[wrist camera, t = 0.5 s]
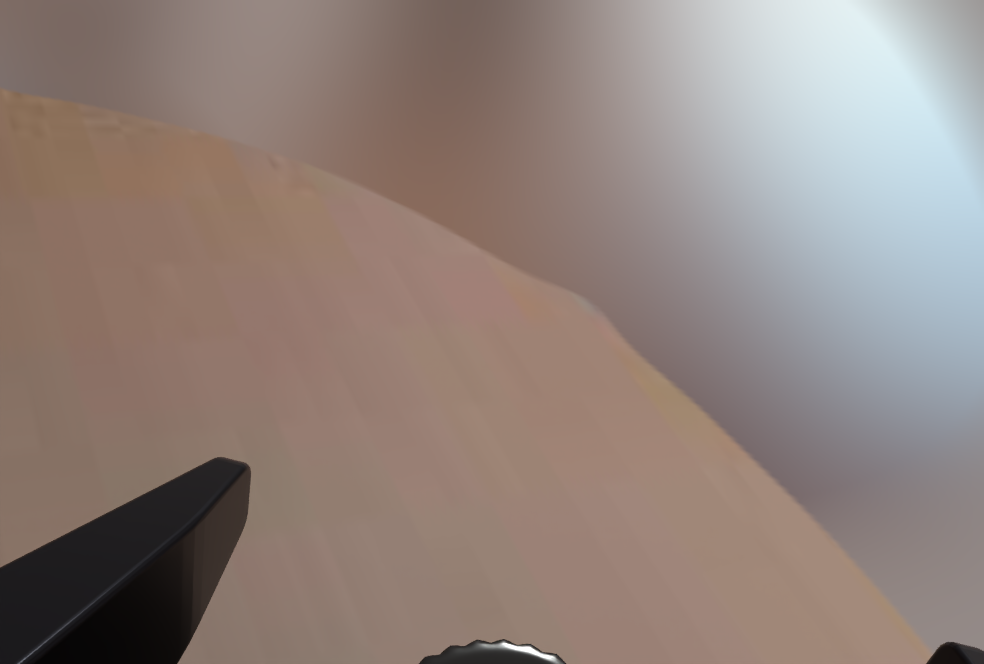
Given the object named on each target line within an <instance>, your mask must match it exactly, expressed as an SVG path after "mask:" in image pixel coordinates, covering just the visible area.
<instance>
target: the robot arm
mask: <svg viewBox="0 0 984 664" xmlns="http://www.w3.org/2000/svg"><path fill="white" fill-rule="evenodd" d="M250 481H251V470H250V467H249V465H248V464H246V463H244V462H240V461H236V460H232V459H228V458H224V457H217V458H214V459H212V460H210V461H208V462H206V463H204V464H202V465H200V466H198V467H196V468H194V469H192V470H190V471H188V472H186V473H184V474H182V475H180V476H178V477H177V478H175V479H173V480H171V481H169V482H167V483H165V484H163V485H161V486H159V487H157V488H155V489H153V490H151V491H149V492H147V493H145V494H143V495H141V496H139V497H137V498H135V499H133V500H132V501H130V502H128V503H126V504H124V505H122V506H120V507H118V508H116V509H114V510H112V511H110V512H108V513H106V514H104V515H102V516H100V517H98V518H96V519H94V520H92V521H90V522H88V523H87V524H85V525H83V526H81V527H79V528H77V529H75V530H73V531H71V532H69V533H67V534H65V535H63V536H61V537H59V538H57V539H55V540H53V541H51V542H49V543H47V544H45V545H43V546H41V547H40V548H38V549H36V550H34V551H32V552H30V553H28V554H26V555H24V556H22V557H20V558H18V559H16V560H14V561H12V562H10V563H8V564H6V565H4V566H2V567H0V664H177V663H178V662H179V660H180V658H181V657H182V655H183V653H184V651H185V650H186V648H187V646H188V644H189V643H190V641H191V639H192V637H193V635H194V633H195V631H196V629H197V627H198V625H199V623H200V621H201V619H202V616H203V614H204V612H205V610H206V608H207V606H208V604H209V602H210V599H211V597H212V595H213V593H214V591H215V589H216V587H217V585H218V582H219V580H220V578H221V576H222V574H223V572H224V570H225V567H226V565H227V563H228V561H229V559H230V557H231V555H232V553H233V550H234V548H235V546H236V544H237V542H238V540H239V538H240V536H241V533H242V531H243V529H244V526H245V523H246V519H247V515H248V505H249V493H250ZM926 664H984V651H982V650H980V649H978V648H975V647H971V646H967V645H963V644H959V643H955V642H946V643H945V644H942V645H941V646H940V647H939V648H938V649H937V650H936V651H935V653H934V654H933V655H932V657H931V658H930V659H929V661H928V662H927V663H926Z"/></svg>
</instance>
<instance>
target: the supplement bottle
mask: <svg viewBox="0 0 984 664" xmlns="http://www.w3.org/2000/svg"><path fill="white" fill-rule="evenodd" d="M419 664H566V663H565V662H564V661H563V660H562V659H561V658H560V657H559V656H558V655H557V654H553V653H545V652H542V651H540V650H539V649H538V648H536V647H535V646H533V645H531V644H522V645H516V644H513V643H511V642H510V641H507V640H505V639H503V640H498V641H495V642H493V643H489V642H486V641H481V640H475V641H473V642H471V643H470V644H468V645H466V646H449V647H448V648H447V649H445V650H444V651H443V652H442V653H441V654H440V655H431V656H427V657H424V659H423V660H422V661H421V662H420V663H419Z"/></svg>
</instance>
